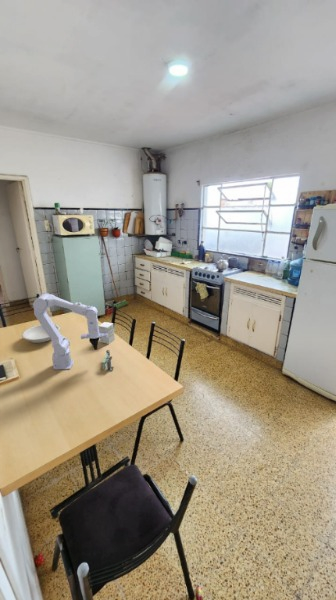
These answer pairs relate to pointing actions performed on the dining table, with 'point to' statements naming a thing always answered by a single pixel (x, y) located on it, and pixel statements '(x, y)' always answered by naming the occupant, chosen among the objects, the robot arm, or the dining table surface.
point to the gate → (105, 360)
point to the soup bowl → (37, 334)
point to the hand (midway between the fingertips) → (95, 348)
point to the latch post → (109, 366)
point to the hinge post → (109, 354)
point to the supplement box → (109, 330)
